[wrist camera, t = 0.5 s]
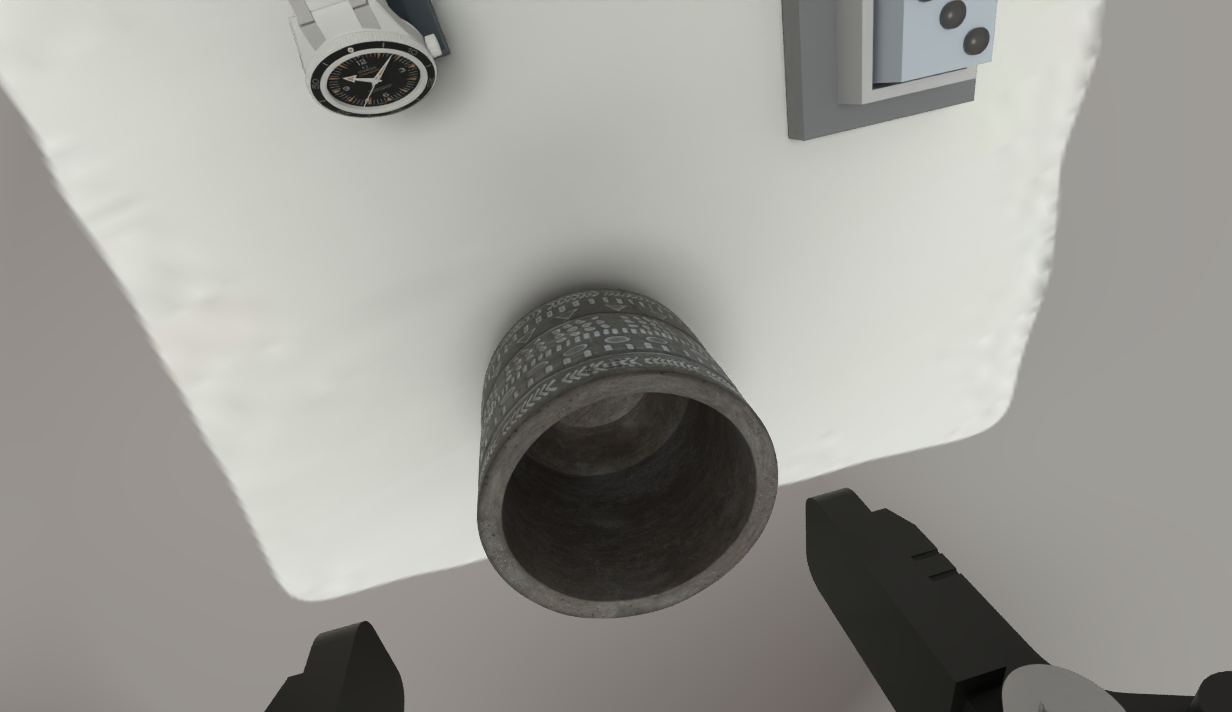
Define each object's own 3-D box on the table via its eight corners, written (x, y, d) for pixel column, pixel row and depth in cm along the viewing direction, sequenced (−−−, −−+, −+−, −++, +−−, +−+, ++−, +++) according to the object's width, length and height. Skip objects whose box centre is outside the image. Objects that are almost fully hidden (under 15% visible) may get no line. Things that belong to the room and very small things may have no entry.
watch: (368, 125, 30) (306, 139, 21) (287, -49, 27) (164, -133, 17) (467, 92, 31) (452, 90, 21) (399, -86, 27) (342, -189, 17)
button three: (861, -22, 29) (909, -37, 26) (949, -41, 29) (1008, -58, 26) (861, 83, 31) (905, 82, 28) (943, 64, 32) (996, 61, 28)
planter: (709, 408, 42) (805, 552, 29) (535, 481, 42) (551, 659, 29) (651, 235, 36) (741, 318, 23) (445, 320, 36) (413, 454, 22)
